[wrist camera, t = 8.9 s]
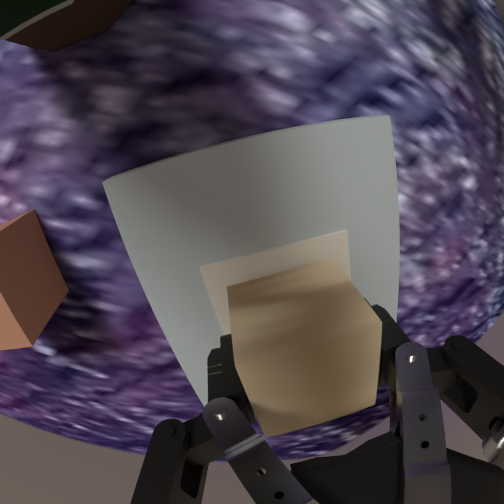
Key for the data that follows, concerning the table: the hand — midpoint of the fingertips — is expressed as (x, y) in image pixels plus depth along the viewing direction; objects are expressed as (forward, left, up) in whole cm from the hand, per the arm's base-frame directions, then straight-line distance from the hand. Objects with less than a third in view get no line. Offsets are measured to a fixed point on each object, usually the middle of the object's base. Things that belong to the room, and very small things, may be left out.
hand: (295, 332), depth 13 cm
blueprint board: (0, 0, -3) cm, 3 cm away
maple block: (0, 0, -1) cm, 1 cm away
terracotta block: (-14, +6, -3) cm, 16 cm away
